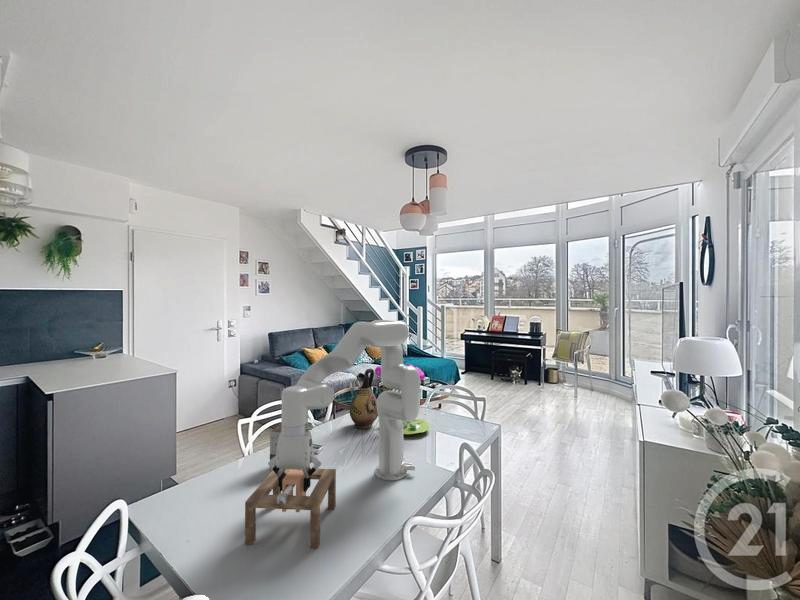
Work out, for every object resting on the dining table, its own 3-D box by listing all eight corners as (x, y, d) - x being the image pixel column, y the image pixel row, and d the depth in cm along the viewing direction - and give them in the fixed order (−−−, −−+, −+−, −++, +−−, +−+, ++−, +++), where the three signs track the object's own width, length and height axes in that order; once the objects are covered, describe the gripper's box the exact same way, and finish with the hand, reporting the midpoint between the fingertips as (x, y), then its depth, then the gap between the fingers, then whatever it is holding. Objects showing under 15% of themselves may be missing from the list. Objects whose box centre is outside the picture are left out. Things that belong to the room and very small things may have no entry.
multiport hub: (318, 454, 153) (318, 449, 153) (297, 451, 157) (297, 445, 157) (324, 450, 158) (324, 445, 158) (303, 447, 161) (303, 442, 161)
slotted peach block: (305, 500, 108) (306, 470, 108) (299, 512, 102) (299, 480, 102) (289, 499, 108) (290, 469, 108) (282, 511, 102) (282, 479, 102)
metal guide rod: (309, 468, 115) (309, 462, 115) (285, 503, 95) (285, 496, 95) (301, 468, 115) (301, 462, 115) (276, 503, 95) (276, 496, 95)
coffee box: (284, 474, 135) (284, 432, 135) (269, 472, 136) (269, 431, 136) (296, 463, 144) (296, 424, 144) (281, 462, 145) (281, 423, 145)
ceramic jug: (367, 433, 177) (367, 373, 177) (343, 427, 186) (343, 370, 186) (386, 423, 192) (386, 367, 192) (363, 418, 200) (363, 365, 200)
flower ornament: (362, 433, 180) (358, 365, 180) (392, 415, 205) (389, 354, 204) (414, 443, 165) (410, 369, 164) (439, 422, 189) (436, 357, 188)
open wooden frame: (335, 506, 115) (335, 469, 115) (317, 549, 95) (317, 504, 95) (275, 503, 116) (275, 467, 116) (245, 546, 96) (245, 502, 96)
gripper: (326, 425, 109) (326, 483, 109) (271, 423, 110) (271, 481, 110) (319, 434, 101) (319, 497, 101) (260, 433, 102) (260, 495, 102)
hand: (294, 488), depth 105 cm, fingers open, 6 cm apart
